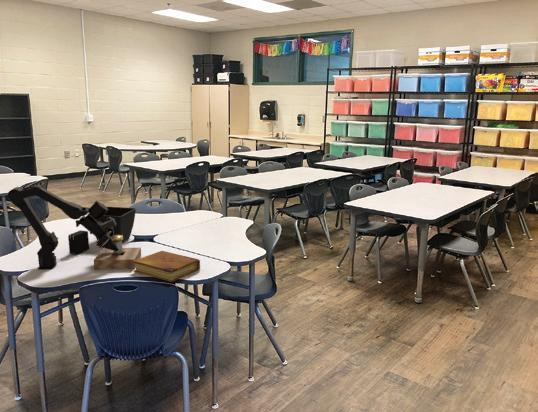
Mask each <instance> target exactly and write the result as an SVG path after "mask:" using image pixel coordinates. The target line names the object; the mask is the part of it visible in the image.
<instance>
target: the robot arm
mask: <svg viewBox="0 0 538 412" xmlns="http://www.w3.org/2000/svg"><path fill="white" fill-rule="evenodd" d="M35 196H37V197H38V198H40V199H41V200H44V201H45V202H47V203H48V204H51V205H53V206H55V207H56V208H58V209H59V210H61V211H62V212H63V213H64V214H65V216H67V217H68V218H70V219H72V220H74V221H75V227H76V228H79V226H80V225H81V226H82V227H83V228H85V229H86V231H88V233H89V234H90V235H93V236H94V237H95V236H96V237H97V239H96V247H98V248H99V249H101V248H102V249H103V248H106V249H110V250H114V251H118V250H119V249H118V248H117V247H116V246H115V245H114V243H113V241H112V240H111V236H113V235H114V229H113V227H115V226H116V222H115V219H114V218H111V217H108V218H107V221H106V222H104V223H101V222H97V221H96V220H95V219H97V218H98V219H100V218H101V217H102V216H103V215H104V214H105V213H106V212H107V211H108V208H107V207H108V206H106V205H105V204H104V203H101V202H99V201H98V200H95V202H94V203H93V204H92V205H91V206H90V207H86V206H82V205H80V204H78V203H76V202H71V201H67V200H65V199H63V198H62V197H59V196H58V195H56V194H54V193H53V192H52V191H50V190H47V189H46V188H44V187H43V186H42V185H38V184H37V185H34V186H26V187H20V186H16V187H14V188H12V189H10V190H9V191H8V193H7V199H8V200H9V201H10V202H11V203H12V205H13V206H15V207H16V208H18V209H19V210H20V211H21V213H22V214H23V216H24V217H25V219H26V220H27V222H28V223H29V225H30V226H31V227H32V230H33V231H34V232H35V234H36V235H37V237H38V240H39V241H38V242H39V244H40V247H41V248H39V250H38V251H37V252H36V254H37V257H38V259H37V260H38V267H37V270H49V269H50V270H53V269H54V268H55V267H56V266H57V265H58V263H57V256H56V254H55V252H54V251H55V250H56V248H57V247H58V246H59V237H57V235H56V234H55V231H52V232H50V231H49V230H48V229H47V228H46V227H45V225H44V224H43V222H42V221H41V219H40V217H39V216H38V214H37V213H36V211H35V210H34V208H33V207H32V205H31V204H30V200H29V198H31V197H35ZM90 215H91V216H92V217H91V216H90ZM94 218H95V219H94ZM111 230H112V231H111ZM96 237H95V238H96Z"/></svg>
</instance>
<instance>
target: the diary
mask: <svg viewBox="0 0 538 412" xmlns="http://www.w3.org/2000/svg"><path fill="white" fill-rule="evenodd" d="M133 263H136V267H135V269H133V272H135V273H138V274H142V275H145V276H149V277H152V278H156V279H159V280H163V281H167V282H170V283H173V282H175V281H177V280H181V279H182V278H184V277H187V276H189V275H191V274H194V273H195V272H198V271H200V269H201V260H200V259H198V258H195V257H190V256H186V255H182V254H179V253H178V254H177V253H174V252H170V251H167V250H165V251H164V250H160V251H157V252H155V253H151V254H148V255H146V256H143V257H142V256H141V258H140V259H137V260H134V261H133Z"/></svg>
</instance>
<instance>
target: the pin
mask: <svg viewBox="0 0 538 412" xmlns="http://www.w3.org/2000/svg"><path fill="white" fill-rule="evenodd" d="M111 240H112V241H113V243H114V245H115V246H116V247H117V248H118V249H119V250H118V251H114V250H113V253H114V256H116V255H123V254H122V248H123V242H122V240H123V235H113V236H111Z"/></svg>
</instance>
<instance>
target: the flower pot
mask: <svg viewBox="0 0 538 412" xmlns="http://www.w3.org/2000/svg"><path fill="white" fill-rule="evenodd" d="M106 207H107V208H108V211H107V212H106V213H105V214H104V215H103V216H102V217H101V218H100V219H98V218H97V219H95V218H94V219H95V220H96V221H97V222H101V223H104V222H106V221H107V218H108V217H111V218H114V219H115V222H116V226H115V227H113V229H114V235H123V240H122V243H124V242H126V241H127V240H129V239H130V238H131V235H132V231H133V228H134V224H135V217H136V211H137V208H135V207H119V206H106ZM90 216H91V215H90ZM91 217H92V216H91ZM111 231H112V230H111ZM94 237H95V239H96V240H97V237H96V236H94ZM128 238H129V239H128Z"/></svg>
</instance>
